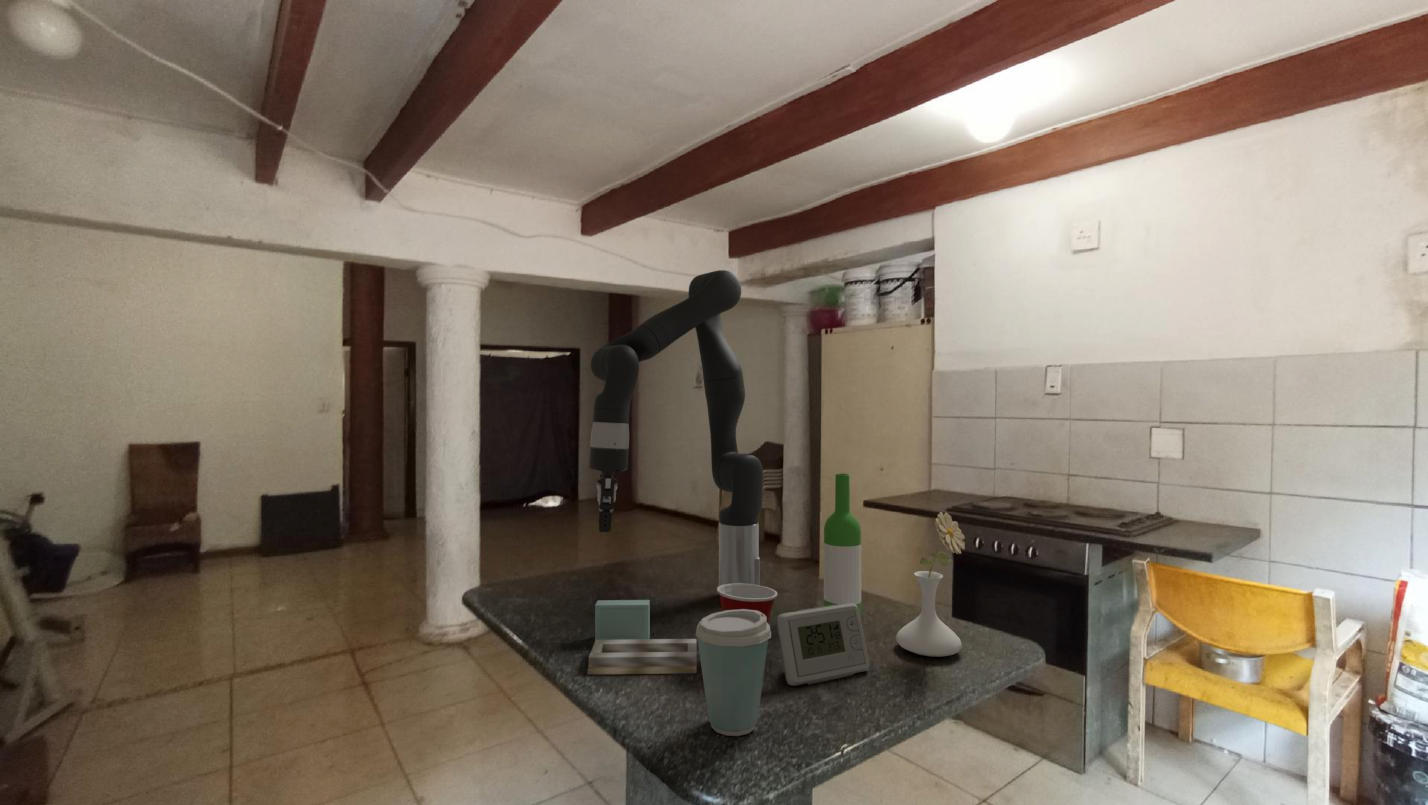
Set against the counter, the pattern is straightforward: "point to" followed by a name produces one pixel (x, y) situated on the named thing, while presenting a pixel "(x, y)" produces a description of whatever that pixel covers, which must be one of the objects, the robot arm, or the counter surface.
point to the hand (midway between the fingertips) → (604, 528)
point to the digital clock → (822, 643)
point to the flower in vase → (933, 600)
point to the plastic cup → (747, 597)
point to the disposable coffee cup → (733, 667)
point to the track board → (643, 656)
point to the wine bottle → (842, 550)
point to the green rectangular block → (622, 619)
